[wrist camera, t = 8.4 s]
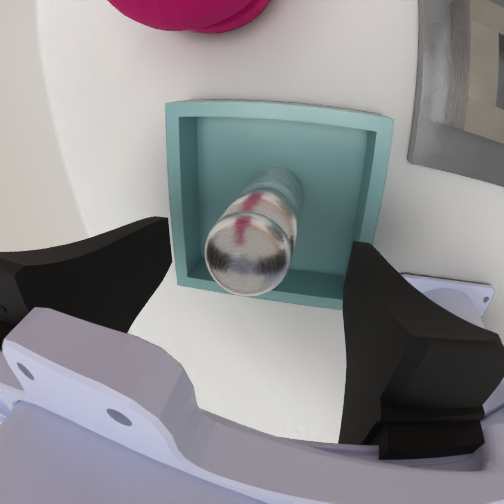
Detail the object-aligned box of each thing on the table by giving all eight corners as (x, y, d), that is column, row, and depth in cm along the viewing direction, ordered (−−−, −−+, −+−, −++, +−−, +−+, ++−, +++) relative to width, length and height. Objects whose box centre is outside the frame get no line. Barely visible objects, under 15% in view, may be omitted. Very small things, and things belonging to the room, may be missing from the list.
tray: (351, 281, 19) (354, 311, 17) (194, 259, 21) (177, 285, 18) (381, 114, 14) (393, 119, 12) (189, 99, 16) (165, 103, 13)
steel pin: (298, 224, 17) (278, 322, 10) (246, 213, 18) (191, 301, 10) (308, 172, 16) (296, 241, 9) (252, 162, 16) (193, 220, 9)
